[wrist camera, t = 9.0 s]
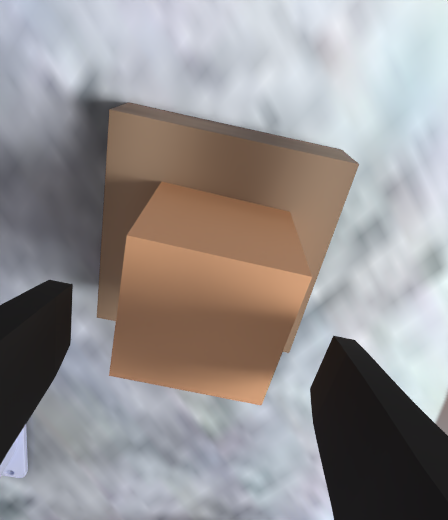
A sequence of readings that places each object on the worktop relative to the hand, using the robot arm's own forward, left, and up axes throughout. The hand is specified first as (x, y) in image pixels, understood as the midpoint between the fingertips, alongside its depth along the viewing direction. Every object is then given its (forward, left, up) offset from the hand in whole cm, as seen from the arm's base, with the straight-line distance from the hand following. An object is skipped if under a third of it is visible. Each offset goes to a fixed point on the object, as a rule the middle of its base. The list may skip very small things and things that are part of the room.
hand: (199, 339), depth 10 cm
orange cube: (0, 0, -6) cm, 6 cm away
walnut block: (0, 0, -9) cm, 9 cm away
